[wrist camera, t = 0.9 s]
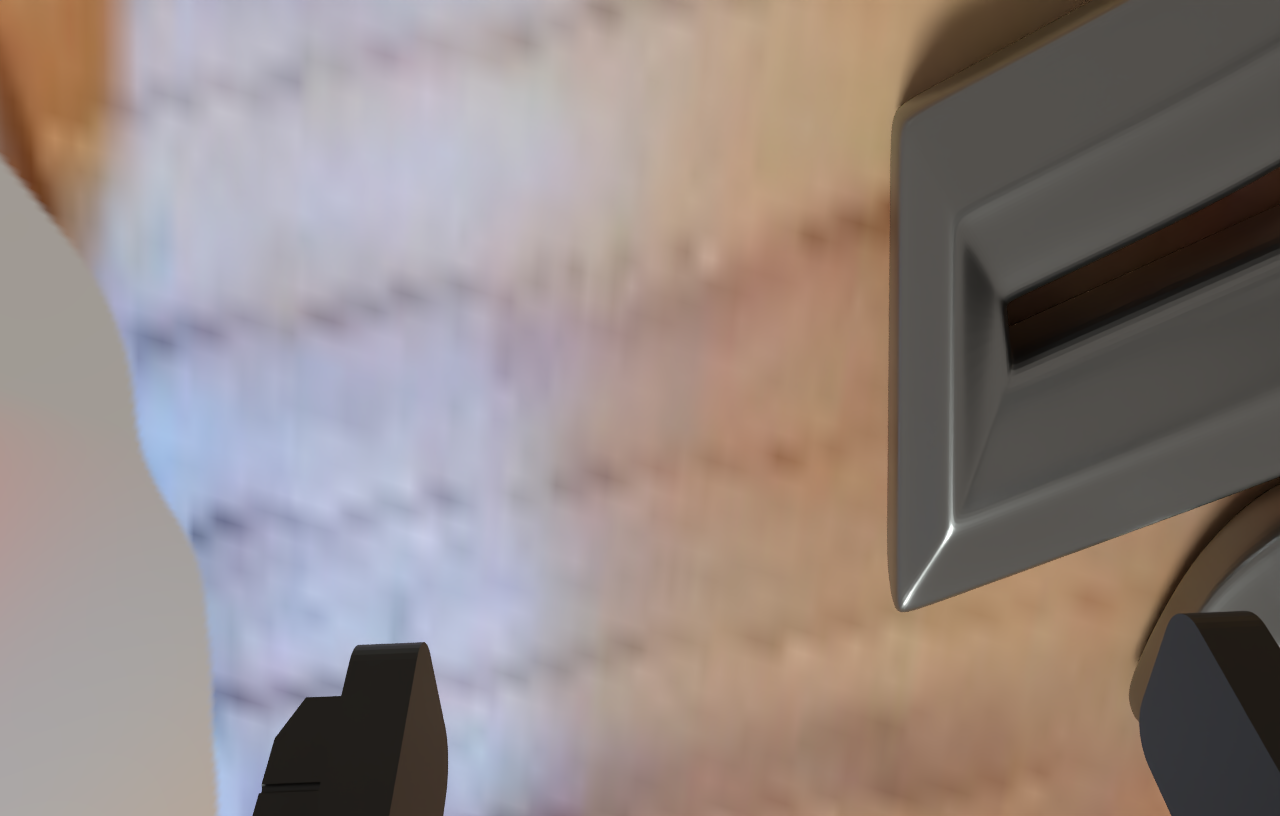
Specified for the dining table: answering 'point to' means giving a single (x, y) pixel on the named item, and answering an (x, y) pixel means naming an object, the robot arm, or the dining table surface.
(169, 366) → the dining table surface
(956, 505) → the emblem
